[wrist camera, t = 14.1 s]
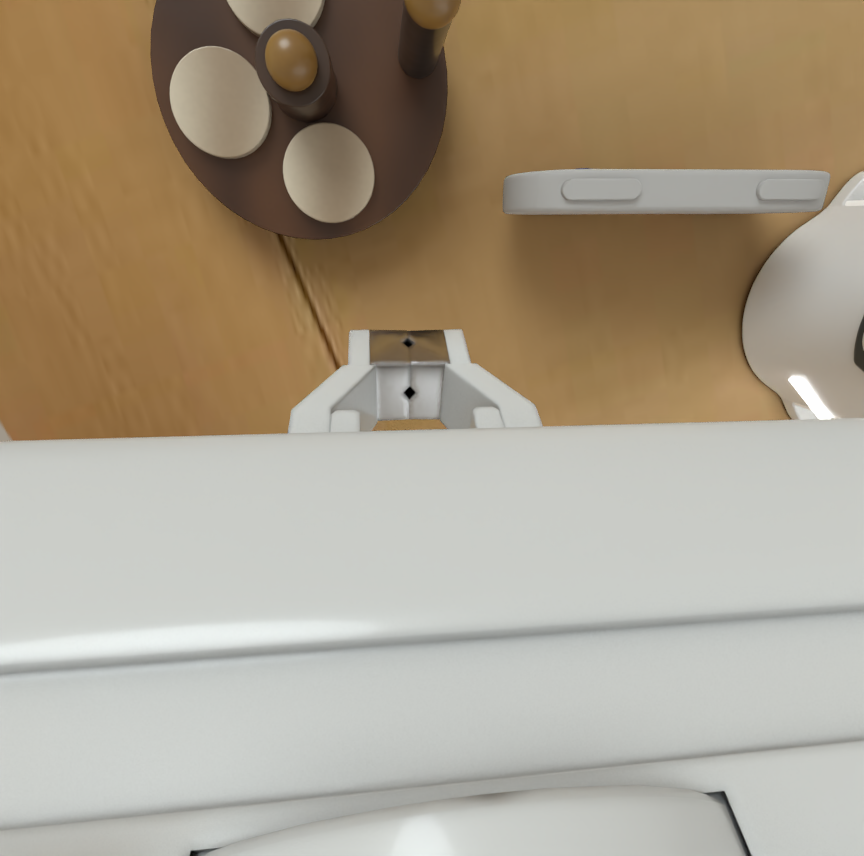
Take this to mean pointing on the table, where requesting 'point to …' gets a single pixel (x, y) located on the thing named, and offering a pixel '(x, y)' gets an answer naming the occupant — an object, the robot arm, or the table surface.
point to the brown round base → (304, 104)
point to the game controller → (664, 191)
